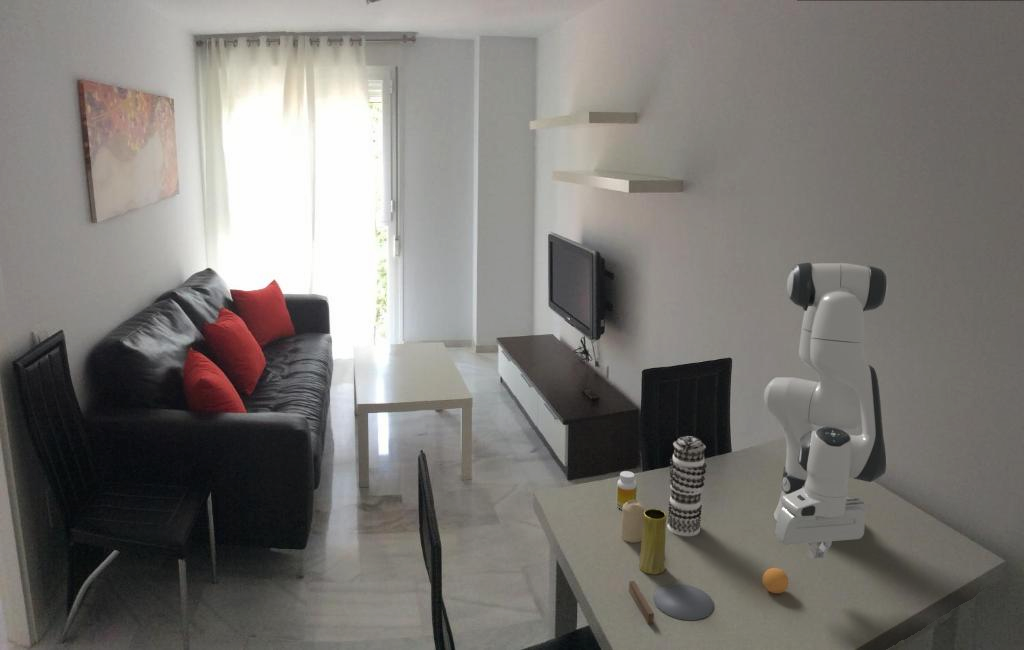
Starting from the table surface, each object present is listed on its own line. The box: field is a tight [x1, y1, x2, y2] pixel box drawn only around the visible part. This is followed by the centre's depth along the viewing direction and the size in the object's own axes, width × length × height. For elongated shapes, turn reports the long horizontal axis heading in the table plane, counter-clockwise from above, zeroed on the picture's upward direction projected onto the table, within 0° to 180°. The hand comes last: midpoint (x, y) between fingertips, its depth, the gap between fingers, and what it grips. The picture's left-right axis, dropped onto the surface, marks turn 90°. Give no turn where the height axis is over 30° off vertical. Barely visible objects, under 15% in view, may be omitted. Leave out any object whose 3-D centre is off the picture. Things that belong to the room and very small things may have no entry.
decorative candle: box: [666, 435, 707, 537], centre depth 194 cm, size 9×9×25 cm
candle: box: [620, 499, 645, 544], centre depth 191 cm, size 6×6×10 cm
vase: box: [638, 508, 667, 575], centre depth 177 cm, size 6×6×14 cm
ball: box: [762, 567, 789, 594], centre depth 170 cm, size 6×6×6 cm
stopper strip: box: [628, 580, 655, 625], centre depth 164 cm, size 1×12×2 cm, turn 11°
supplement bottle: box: [615, 470, 638, 510], centre depth 207 cm, size 5×5×10 cm
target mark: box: [653, 583, 715, 621], centre depth 166 cm, size 13×13×1 cm
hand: (816, 557), depth 169 cm, fingers closed
